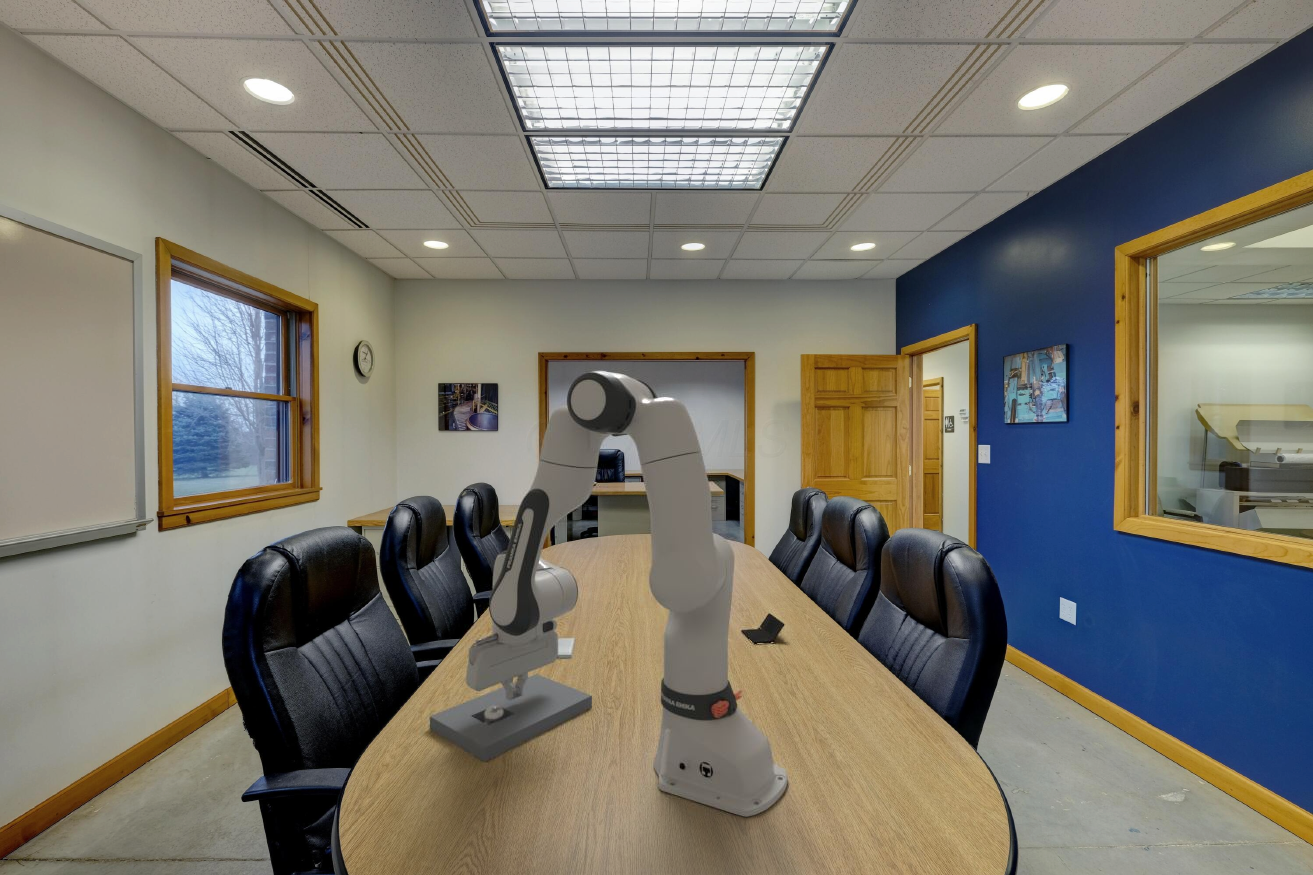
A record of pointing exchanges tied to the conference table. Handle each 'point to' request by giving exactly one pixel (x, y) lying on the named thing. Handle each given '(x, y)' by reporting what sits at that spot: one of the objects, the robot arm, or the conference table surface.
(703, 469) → the robot arm
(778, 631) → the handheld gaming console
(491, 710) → the steel ball
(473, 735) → the board
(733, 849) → the conference table surface
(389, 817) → the conference table surface
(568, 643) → the hard drive
